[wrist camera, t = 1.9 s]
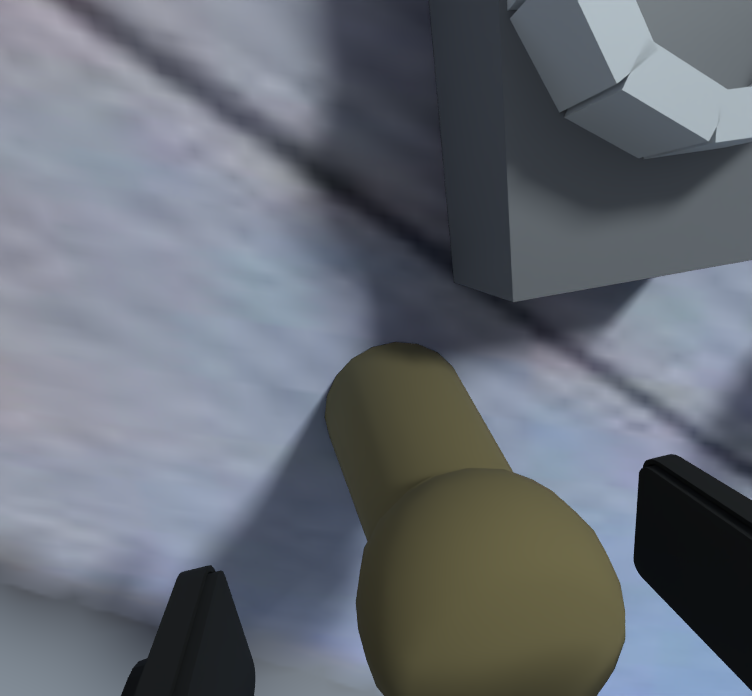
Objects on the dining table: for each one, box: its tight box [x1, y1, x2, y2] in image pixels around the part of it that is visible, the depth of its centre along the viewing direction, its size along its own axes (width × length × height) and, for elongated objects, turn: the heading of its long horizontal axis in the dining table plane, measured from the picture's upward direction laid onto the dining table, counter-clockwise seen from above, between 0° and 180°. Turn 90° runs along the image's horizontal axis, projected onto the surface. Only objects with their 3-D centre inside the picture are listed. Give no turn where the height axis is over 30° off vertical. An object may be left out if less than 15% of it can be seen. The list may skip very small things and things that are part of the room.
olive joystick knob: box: [325, 342, 625, 696], centre depth 12 cm, size 6×6×11 cm
